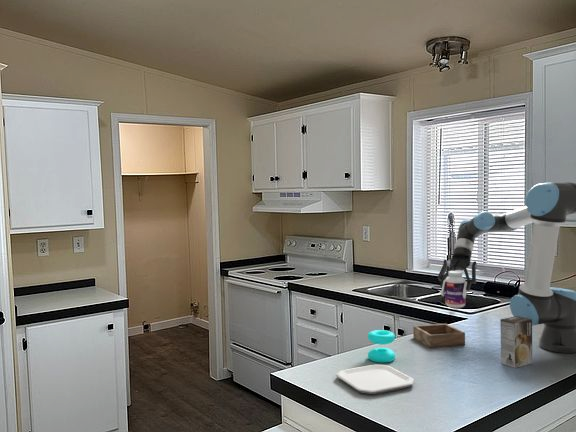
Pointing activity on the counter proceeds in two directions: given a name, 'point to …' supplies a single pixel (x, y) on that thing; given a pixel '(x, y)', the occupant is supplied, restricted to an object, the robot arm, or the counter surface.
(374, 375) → the plate
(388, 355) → the donuts
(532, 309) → the robot arm
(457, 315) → the counter surface
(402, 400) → the counter surface
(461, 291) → the pill bottle
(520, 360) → the coffee box
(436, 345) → the crate
